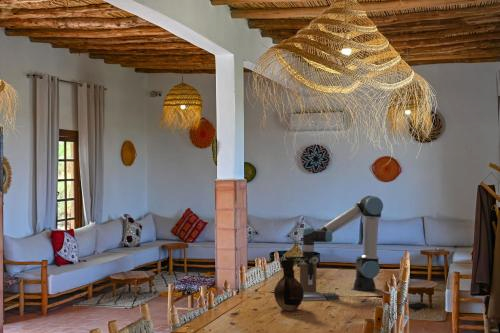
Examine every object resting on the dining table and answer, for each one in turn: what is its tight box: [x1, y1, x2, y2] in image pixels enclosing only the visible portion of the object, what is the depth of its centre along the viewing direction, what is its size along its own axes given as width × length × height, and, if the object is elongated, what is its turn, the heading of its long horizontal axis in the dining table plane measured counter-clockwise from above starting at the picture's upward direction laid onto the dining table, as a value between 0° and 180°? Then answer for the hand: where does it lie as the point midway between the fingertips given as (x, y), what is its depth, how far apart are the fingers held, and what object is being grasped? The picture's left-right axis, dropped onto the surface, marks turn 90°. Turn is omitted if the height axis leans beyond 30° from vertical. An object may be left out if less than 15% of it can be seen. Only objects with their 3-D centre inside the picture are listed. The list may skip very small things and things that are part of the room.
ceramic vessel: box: [273, 258, 304, 312], centre depth 408 cm, size 21×18×30 cm
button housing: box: [322, 292, 340, 300], centre depth 444 cm, size 8×8×2 cm
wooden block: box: [299, 261, 318, 292], centre depth 461 cm, size 10×10×20 cm
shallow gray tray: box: [302, 291, 327, 302], centre depth 444 cm, size 16×14×2 cm
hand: (307, 282), depth 461 cm, fingers open, 13 cm apart
